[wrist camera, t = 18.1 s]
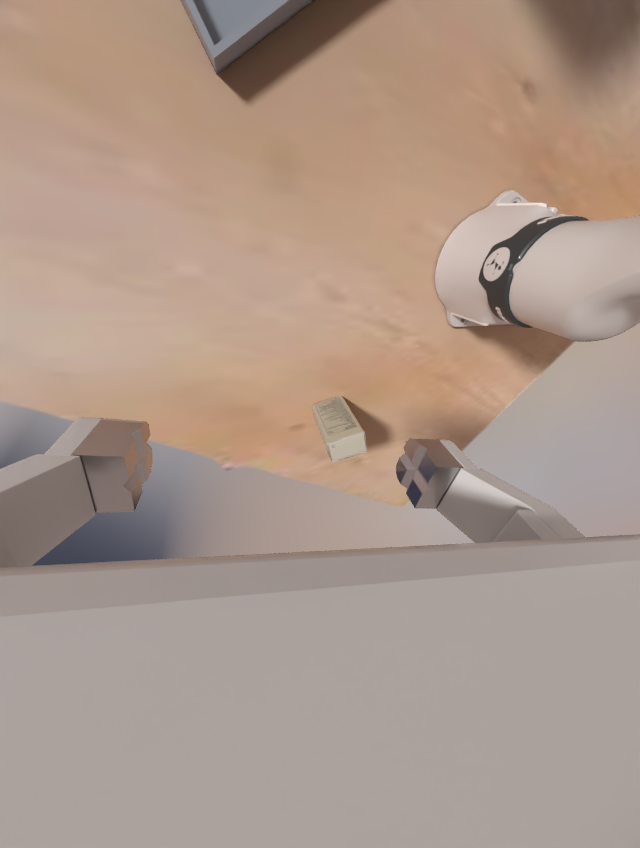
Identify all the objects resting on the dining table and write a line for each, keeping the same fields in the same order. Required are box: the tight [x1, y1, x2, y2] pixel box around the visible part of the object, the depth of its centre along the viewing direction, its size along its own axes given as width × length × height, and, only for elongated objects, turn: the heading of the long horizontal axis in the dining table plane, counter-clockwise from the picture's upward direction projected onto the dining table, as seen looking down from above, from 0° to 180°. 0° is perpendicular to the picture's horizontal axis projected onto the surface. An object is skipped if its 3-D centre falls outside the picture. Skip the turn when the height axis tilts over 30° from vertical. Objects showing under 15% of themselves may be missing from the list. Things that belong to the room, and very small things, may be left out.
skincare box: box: [312, 396, 367, 462], centre depth 51 cm, size 6×4×12 cm
